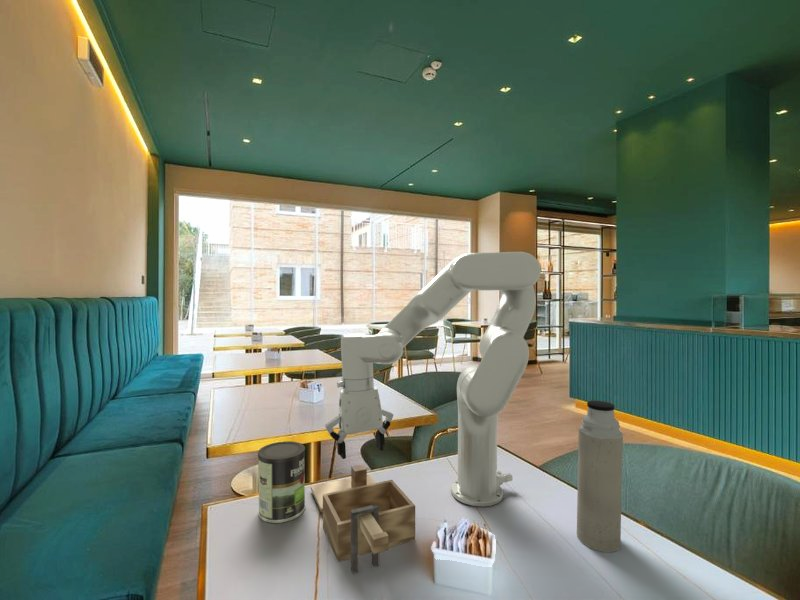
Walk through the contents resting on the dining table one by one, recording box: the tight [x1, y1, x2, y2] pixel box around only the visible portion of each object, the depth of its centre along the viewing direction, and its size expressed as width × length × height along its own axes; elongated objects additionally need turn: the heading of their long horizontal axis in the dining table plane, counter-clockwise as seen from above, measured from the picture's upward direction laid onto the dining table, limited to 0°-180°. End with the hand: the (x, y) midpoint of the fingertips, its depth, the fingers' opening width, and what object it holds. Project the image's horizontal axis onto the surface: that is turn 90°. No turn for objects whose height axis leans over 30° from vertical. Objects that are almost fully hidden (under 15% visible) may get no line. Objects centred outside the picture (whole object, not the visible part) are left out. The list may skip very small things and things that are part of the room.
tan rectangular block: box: [358, 513, 389, 554], centre depth 70 cm, size 3×9×2 cm, turn 24°
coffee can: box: [257, 440, 306, 524], centre depth 92 cm, size 10×10×14 cm
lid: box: [310, 463, 376, 513], centre depth 98 cm, size 15×11×7 cm
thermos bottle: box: [576, 400, 624, 553], centre depth 81 cm, size 8×8×28 cm
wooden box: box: [322, 479, 416, 574], centre depth 81 cm, size 16×16×11 cm
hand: (361, 452), depth 99 cm, fingers open, 9 cm apart
